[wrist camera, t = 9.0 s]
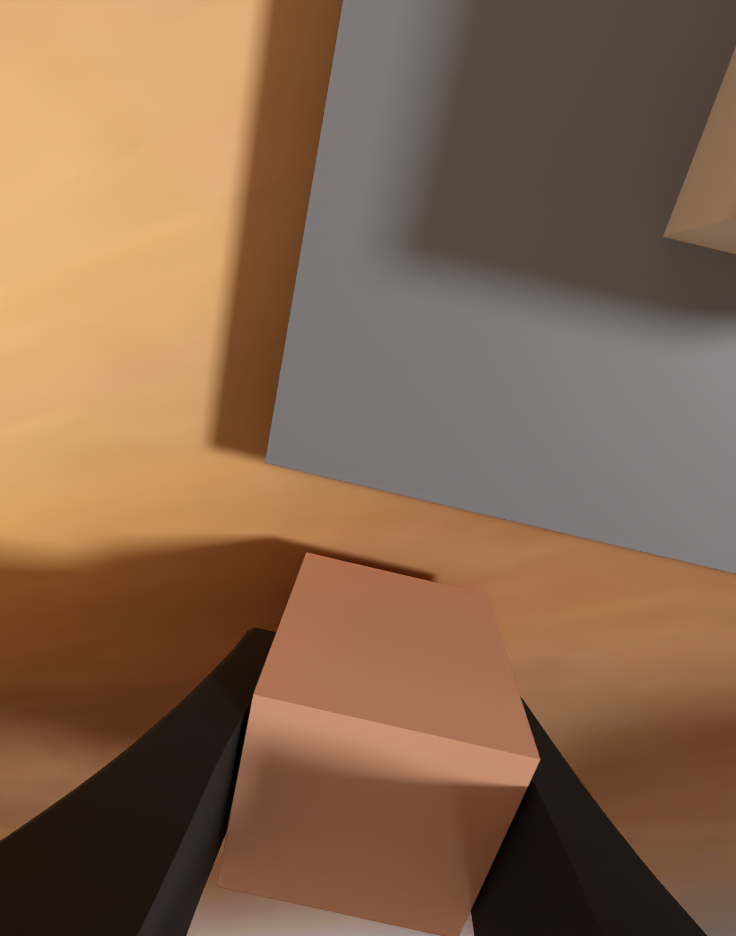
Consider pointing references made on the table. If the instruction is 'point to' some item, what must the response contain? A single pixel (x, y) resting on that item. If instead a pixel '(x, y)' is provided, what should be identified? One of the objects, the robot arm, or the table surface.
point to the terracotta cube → (379, 751)
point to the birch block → (711, 179)
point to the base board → (519, 271)
